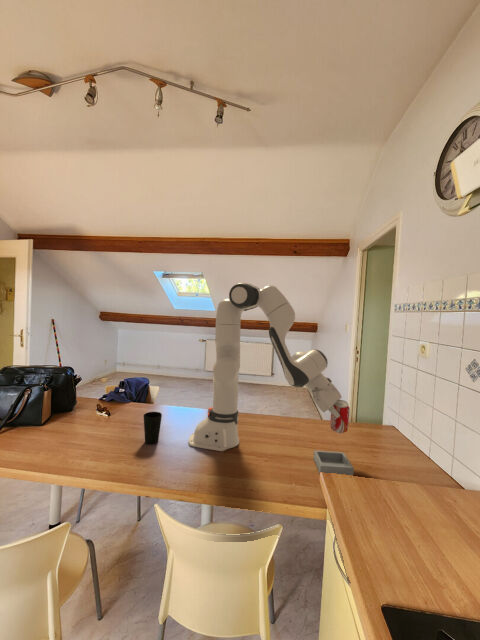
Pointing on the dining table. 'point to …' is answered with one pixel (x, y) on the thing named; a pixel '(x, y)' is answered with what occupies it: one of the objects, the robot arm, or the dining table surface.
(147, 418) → the cup
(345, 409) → the soda can
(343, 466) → the tray
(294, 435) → the dining table surface
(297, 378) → the robot arm
